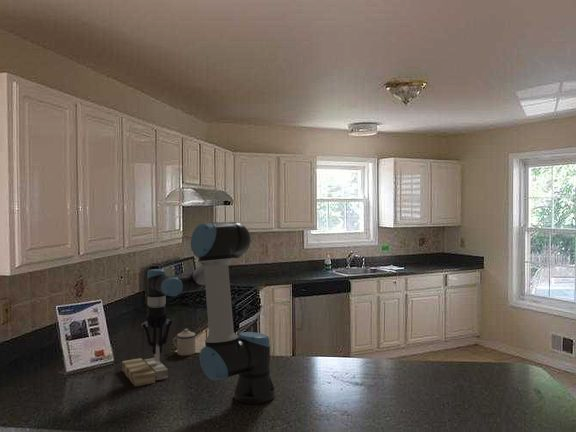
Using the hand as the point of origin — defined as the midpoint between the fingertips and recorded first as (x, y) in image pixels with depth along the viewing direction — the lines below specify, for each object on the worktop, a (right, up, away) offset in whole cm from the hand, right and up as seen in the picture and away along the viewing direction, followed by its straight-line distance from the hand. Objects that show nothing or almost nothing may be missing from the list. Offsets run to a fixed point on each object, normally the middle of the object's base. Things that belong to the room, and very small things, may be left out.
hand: (156, 360), depth 197 cm
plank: (-1, -5, 0) cm, 5 cm away
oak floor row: (-7, -5, -4) cm, 9 cm away
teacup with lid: (+5, -5, +28) cm, 29 cm away
